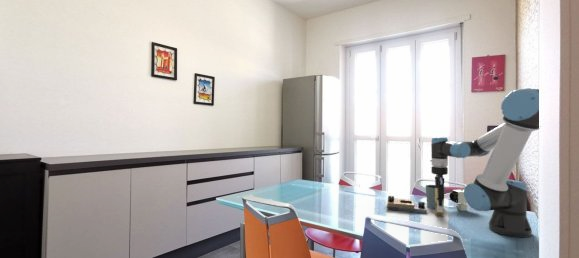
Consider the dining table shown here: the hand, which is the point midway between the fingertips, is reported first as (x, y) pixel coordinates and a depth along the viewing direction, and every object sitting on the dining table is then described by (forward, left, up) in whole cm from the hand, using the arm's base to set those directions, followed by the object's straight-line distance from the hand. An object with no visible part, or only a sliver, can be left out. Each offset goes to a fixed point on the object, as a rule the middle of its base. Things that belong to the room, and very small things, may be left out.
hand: (439, 210), depth 147 cm
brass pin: (0, 0, -3) cm, 3 cm away
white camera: (+15, -13, -3) cm, 20 cm away
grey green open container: (+17, 0, -3) cm, 17 cm away
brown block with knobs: (+7, +16, -3) cm, 18 cm away
